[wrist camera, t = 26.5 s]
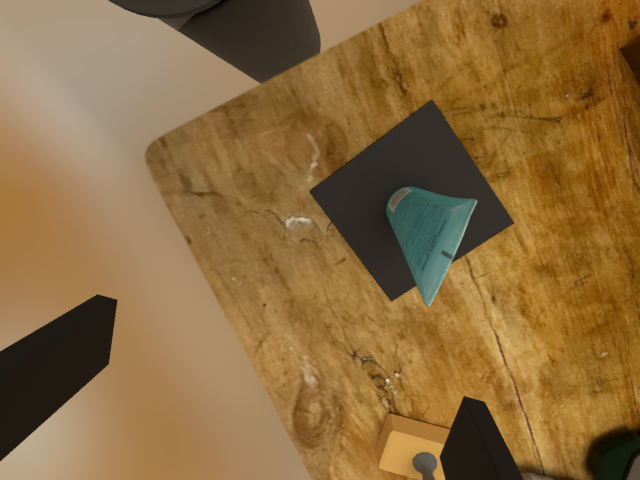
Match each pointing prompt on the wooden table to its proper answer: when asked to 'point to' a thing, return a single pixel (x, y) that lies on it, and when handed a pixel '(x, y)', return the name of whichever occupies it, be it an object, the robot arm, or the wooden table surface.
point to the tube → (428, 233)
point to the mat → (406, 171)
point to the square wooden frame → (633, 55)
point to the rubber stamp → (411, 448)
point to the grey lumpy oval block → (534, 476)
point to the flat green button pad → (617, 459)
